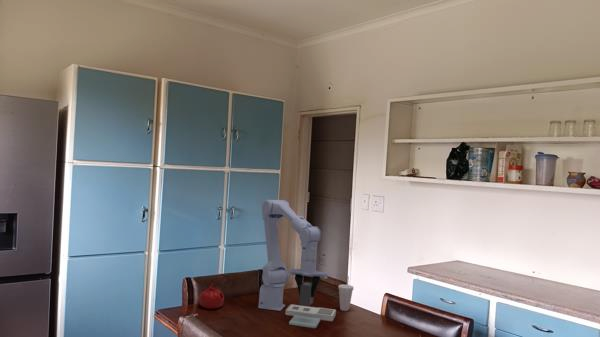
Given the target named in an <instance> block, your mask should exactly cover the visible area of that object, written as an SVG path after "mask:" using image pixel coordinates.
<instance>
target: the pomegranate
mask: <svg viewBox="0 0 600 337" xmlns="http://www.w3.org/2000/svg"><path fill="white" fill-rule="evenodd" d="M202 289H204V290H203V291H202V292H201V293H200V294H199V299H198V300H199V304H200V306H201V307H202V308H205V309H207V310H215V309H219V308H221V307H222V306H223V305H224V301H225V295H224V293H223V292H222V290H221V288H220V287H219V286H216V287H214V283H212V282H211V283H210V285H209V286H208V287H203V288H202Z"/></svg>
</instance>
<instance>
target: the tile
mask: <svg viewBox="0 0 600 337" xmlns="http://www.w3.org/2000/svg"><path fill="white" fill-rule="evenodd" d="M320 322H321V320H320V318H313V317H305V316H298V315H294V316H292V318H291V319H290V320H289V322H288V325H290V326H291V325H292V326H298V327H305V328H311V329H316V328H317V327H318V325H319V323H320Z"/></svg>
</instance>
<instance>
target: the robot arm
mask: <svg viewBox="0 0 600 337" xmlns="http://www.w3.org/2000/svg"><path fill="white" fill-rule="evenodd" d="M261 213H262V214H261V215H262V220H263V224H264V234H265V235H264V236H265V244H266V245H265V246H266V254H267V255H266V256H267V263H266V264H265V265H264V266H263V267H262V276H261V279H262V283H263V284H261V286H260V288H259V297H258V306H257V308H258V309H262V310H263V309H264V310H272V311H278V312H279V311H282V310H283V308H285V306H286V304H284V303H283V301H284V288H285V286H286V284H287V283H288V281H289V276H291V275H294V281H295V284H296V286H297V289H298V295H299V297H300V286H301V284H302V283H303V282H304V277H308V278H309V277H310V278H311V283H312V293H311V297H313V298H314V297H315V293H316V289H317V286H318V285H319V282H320V280H321V279H325V280H327V279H328V277H329V276H328V274H329V273H328V272H324V271H319V270H317V258H318V256H317V255H318V243H319V242H320V241H321V239H322V231H321V229H320V228H319V226H313V225H312V223H310V222H309V221H308V220H306V219H305V216H304V215H297V213H296V212H295V211H294V210H293V209H292V208H291V207H290V203H289V201H287V200H286V199H267V198H266V199H264V202H263V203H262V205H261ZM283 217H284V218H285V219H286V220H288V221H289V222H290V223H291V224H290V226H291V228H292V229H293V230H294V231H295V232H296V233H297V234H298V235H299V240H300V246H301V257H300V258H301V259H300V268H288V269H287V264H286V263H284V262H283V261H282V258H281V250H280V242H279V234H278V233H279V232H278V222H279V221H281V220H282V219H283Z"/></svg>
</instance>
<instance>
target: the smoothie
mask: <svg viewBox="0 0 600 337" xmlns="http://www.w3.org/2000/svg"><path fill="white" fill-rule="evenodd" d="M354 287H355V286H353V285H350V284H349V275H347V276H346V284H339V285H338V295H339V296H338V297H339V298H338V299H339V309H340V311H344V312H348V310H350V306H351V303H352V302H351V301H352V296H353V291H354Z"/></svg>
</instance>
